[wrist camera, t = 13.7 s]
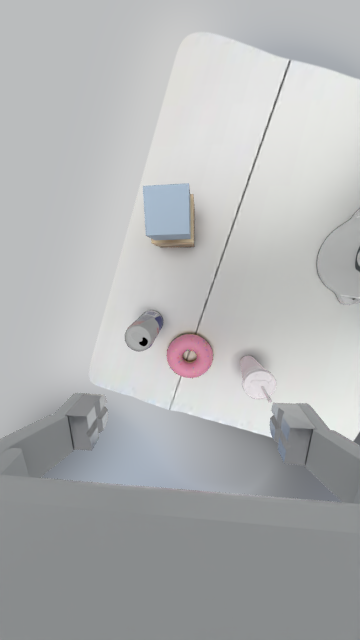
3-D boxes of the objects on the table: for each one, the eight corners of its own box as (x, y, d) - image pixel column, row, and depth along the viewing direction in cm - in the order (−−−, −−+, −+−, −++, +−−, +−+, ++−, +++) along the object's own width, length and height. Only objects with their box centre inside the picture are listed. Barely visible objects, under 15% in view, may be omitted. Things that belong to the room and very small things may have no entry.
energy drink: (154, 335, 49) (141, 357, 37) (136, 322, 48) (118, 340, 37) (167, 319, 48) (158, 336, 36) (149, 305, 47) (134, 318, 35)
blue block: (190, 198, 32) (188, 183, 26) (190, 239, 33) (189, 233, 27) (152, 200, 32) (142, 186, 26) (154, 240, 34) (146, 235, 28)
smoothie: (252, 378, 50) (273, 420, 36) (229, 367, 50) (241, 406, 36) (266, 357, 48) (293, 393, 35) (242, 346, 48) (260, 377, 34)
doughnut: (205, 377, 51) (206, 387, 47) (163, 366, 51) (160, 374, 47) (218, 338, 48) (220, 345, 44) (173, 326, 48) (171, 331, 44)
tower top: (193, 203, 36) (193, 194, 31) (193, 244, 38) (193, 242, 33) (155, 205, 37) (149, 196, 32) (157, 245, 39) (151, 243, 34)
